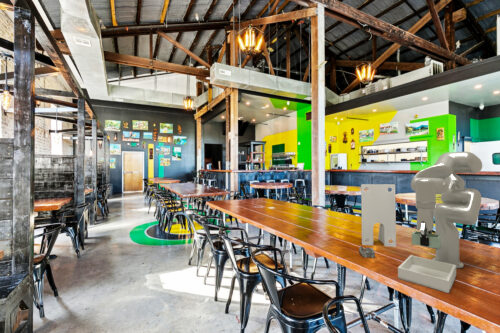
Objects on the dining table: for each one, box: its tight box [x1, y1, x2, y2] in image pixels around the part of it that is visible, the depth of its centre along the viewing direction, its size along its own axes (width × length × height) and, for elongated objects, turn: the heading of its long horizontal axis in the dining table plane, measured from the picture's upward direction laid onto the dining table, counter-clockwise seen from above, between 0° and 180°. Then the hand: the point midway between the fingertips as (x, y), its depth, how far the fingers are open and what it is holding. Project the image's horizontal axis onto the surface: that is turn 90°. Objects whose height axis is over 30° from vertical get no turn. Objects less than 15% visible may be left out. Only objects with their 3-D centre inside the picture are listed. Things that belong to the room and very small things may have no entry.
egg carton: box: [358, 245, 376, 259], centre depth 138 cm, size 11×8×4 cm
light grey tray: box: [397, 254, 457, 294], centre depth 109 cm, size 22×18×5 cm
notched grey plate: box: [360, 183, 397, 248], centre depth 160 cm, size 20×14×40 cm
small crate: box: [411, 230, 441, 250], centre depth 109 cm, size 6×10×5 cm, turn 42°
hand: (426, 243), depth 109 cm, fingers closed on small crate, 6 cm apart
